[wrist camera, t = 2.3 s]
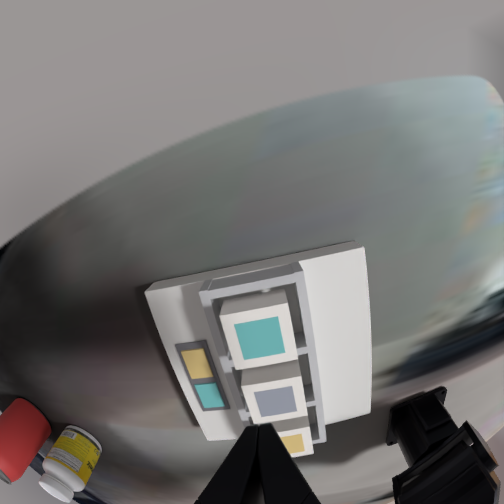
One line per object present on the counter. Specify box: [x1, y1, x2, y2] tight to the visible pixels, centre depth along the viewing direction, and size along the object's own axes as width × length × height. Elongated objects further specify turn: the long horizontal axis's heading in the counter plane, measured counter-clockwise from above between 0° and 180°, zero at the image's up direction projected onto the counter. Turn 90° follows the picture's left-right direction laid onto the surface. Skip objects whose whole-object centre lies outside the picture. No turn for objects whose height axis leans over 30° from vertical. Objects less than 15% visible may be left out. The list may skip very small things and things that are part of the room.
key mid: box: [241, 359, 308, 424], centre depth 16 cm, size 3×3×2 cm
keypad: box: [145, 241, 372, 444], centre depth 19 cm, size 14×14×4 cm
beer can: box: [0, 398, 51, 484], centre depth 19 cm, size 7×7×12 cm
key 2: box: [258, 415, 314, 457], centre depth 17 cm, size 3×3×2 cm
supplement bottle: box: [39, 425, 102, 503], centre depth 20 cm, size 5×5×10 cm
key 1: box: [219, 289, 298, 370], centre depth 15 cm, size 3×3×2 cm
